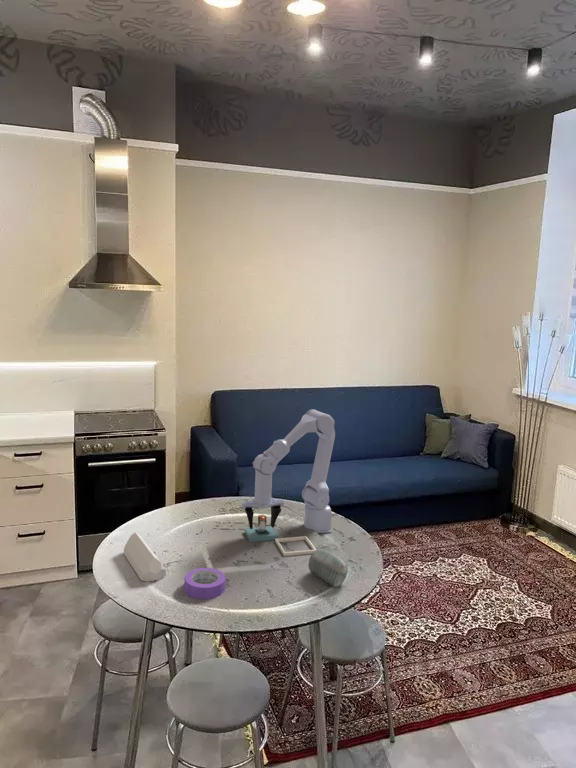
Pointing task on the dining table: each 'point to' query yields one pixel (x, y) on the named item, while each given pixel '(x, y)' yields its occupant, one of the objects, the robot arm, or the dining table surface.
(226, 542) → the dining table surface
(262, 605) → the dining table surface
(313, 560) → the grey green streaked cylinder
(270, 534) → the teal socket block
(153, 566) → the crystal
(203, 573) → the masking tape
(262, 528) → the copper-capped cylinder
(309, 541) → the tray
